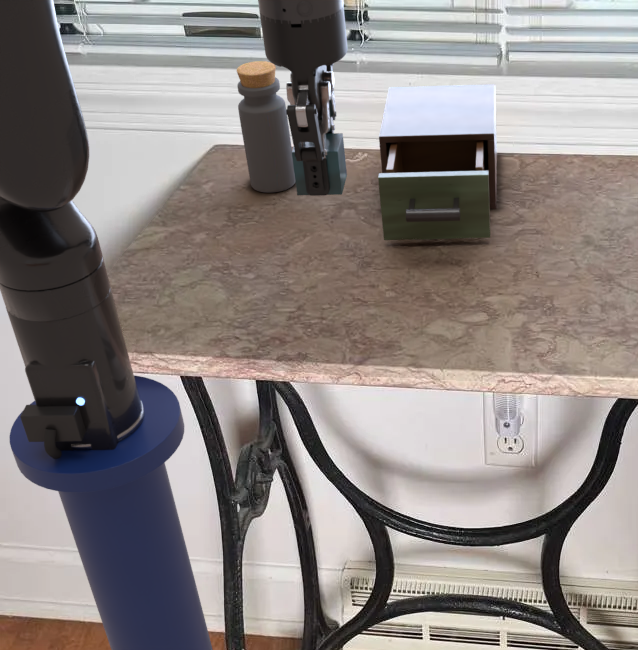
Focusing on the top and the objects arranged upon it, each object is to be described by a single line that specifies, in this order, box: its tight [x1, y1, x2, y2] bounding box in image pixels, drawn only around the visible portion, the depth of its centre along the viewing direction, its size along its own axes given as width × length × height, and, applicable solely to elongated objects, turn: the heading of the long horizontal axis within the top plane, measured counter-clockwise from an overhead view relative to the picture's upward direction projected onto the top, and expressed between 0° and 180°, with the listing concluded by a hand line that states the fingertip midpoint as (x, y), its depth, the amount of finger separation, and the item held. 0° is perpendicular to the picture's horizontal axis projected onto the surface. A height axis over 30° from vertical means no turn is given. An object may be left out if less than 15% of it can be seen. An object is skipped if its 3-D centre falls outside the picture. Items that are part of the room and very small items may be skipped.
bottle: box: [236, 60, 296, 194], centre depth 148 cm, size 6×6×15 cm
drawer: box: [377, 140, 491, 241], centre depth 139 cm, size 19×12×8 cm, turn 179°
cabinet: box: [378, 83, 498, 210], centre depth 148 cm, size 16×14×10 cm
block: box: [292, 132, 348, 196], centre depth 115 cm, size 4×4×4 cm
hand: (321, 182), depth 116 cm, fingers closed on block, 4 cm apart
